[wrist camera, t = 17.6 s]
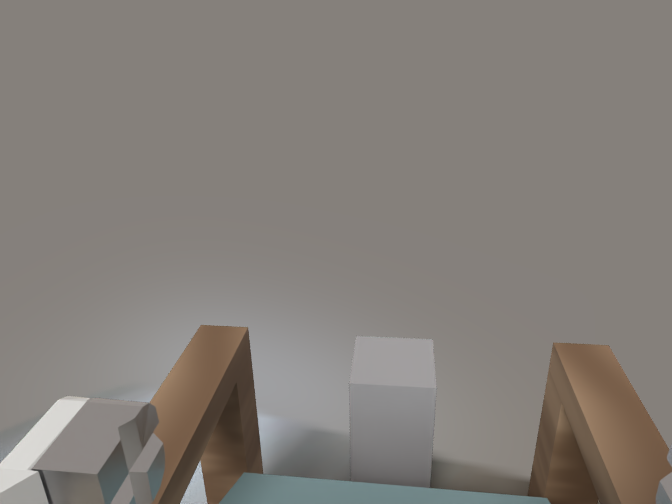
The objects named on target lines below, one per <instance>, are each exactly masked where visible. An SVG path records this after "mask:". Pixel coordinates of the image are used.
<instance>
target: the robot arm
mask: <svg viewBox="0 0 672 504" xmlns="http://www.w3.org/2000/svg"><path fill="white" fill-rule="evenodd" d="M158 423H159V419H158V415H157V411H156V407H155V406H154V405H152V404H150V403H146V402H135V401H124V400H113V399H102V398H85V397H74V396H66V397H63V398H61V399H58V400H57V401H56V402H55V404H54V405H53V406H52V407H51V408H50V409H49V410H48V411H47V412H46V413H45V414H44V416H43V417H42V418H41V419H40V420H39V421H38V422H37V423H36V424H35V426H34V427H33V428H32V429H31V430H30V431H29V432H28V433H27V434H26V435H25V437H24V438H23V439H22V440H21V441H20V442H19V443H18V444H17V445H16V447H15V448H14V449H13V450H12V451H11V452H10V453H9V454H8V455H7V456H6V458H5V459H4V460H3V461H2V462H1V463H0V504H151V503H152V502H153V501H154V499H155V497H156V495H157V493H158V491H159V488H160V486H161V482H162V478H163V474H164V470H165V450H164V445H163V442H162V441H161V440H160V439H159V438H158V437H157V436H156V435H155V434H154V433H153V432H154V430H155V428H156V427H157V425H158ZM667 460H668V462H669V463H670V465H671V467H672V444H671V446H670V449H669V452H668V455H667ZM656 504H672V472H671V473H670V474H668V475H667V476H665V477H664V478H663V479H661V480H660V482H659V486H658V490H657V494H656Z"/></svg>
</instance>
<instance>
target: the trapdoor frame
mask: <svg viewBox="0 0 672 504" xmlns="http://www.w3.org/2000/svg"><path fill="white" fill-rule="evenodd" d="M150 404H152V405H154V406H155V407H156V411H157V415H158V419H159V423H158V425H157V427H156V428H155V430H154V432H153V433H154V434H155V435H156V436H157V437H158V438H159V439H160V440H161V441H162V442H163V445H164V450H165V470H164V474H163V478H162V482H161V486H160V488H159V491H158V493H157V495H156V497H155V499H154V501H153V502H152V503H151V504H180V502H181V500H182V498H183V496H184V493H185V491H186V489H187V487H188V485H189V483H190V481H191V478H192V476H193V474H194V472H195V470H196V468H197V466H198V463H199V461H201V467H202V473H203V479H204V485H205V491H206V497H207V503H208V504H219V503H220V501H221V500H222V499H223V498H224V496H225V495H226V494H227V493H228V492H229V490H230V489H231V488H232V487H233V485H234V484H235V483H236V482H237V480H238V479H239V478H240V477H241V476H242V474H243V473H244V472H245V473H257V474H263V466H262V456H261V447H260V437H259V428H258V418H257V409H256V399H255V389H254V380H253V370H252V361H251V352H250V342H249V332H248V327H231V326H210V325H201V326H200V327H199V329H198V331H197V332H196V333H195V335H194V337H193V338H192V340H191V341H190V343H189V344H188V346H187V347H186V349H185V350H184V352H183V353H182V355H181V356H180V358H179V359H178V361H177V362H176V364H175V365H174V367H173V368H172V370H171V371H170V373H169V374H168V376H167V377H166V379H165V380H164V382H163V383H162V385H161V386H160V388H159V389H158V391H157V392H156V394H155V395H154V397H153V398H152V400H151V401H150ZM668 452H669V448H668V447H667V445H666V443H665V441H664V440H663V438H662V436H661V435H660V433H659V431H658V429H657V428H656V426H655V424H654V423H653V421H652V419H651V418H650V416H649V414H648V412H647V411H646V409H645V407H644V406H643V404H642V402H641V400H640V399H639V397H638V395H637V393H636V392H635V390H634V388H633V387H632V385H631V383H630V381H629V380H628V378H627V376H626V374H625V373H624V371H623V369H622V368H621V366H620V364H619V363H618V361H617V359H616V357H615V356H614V354H613V352H612V350H611V349H610V347H609V346H608V345H591V344H571V343H553V348H552V354H551V359H550V366H549V372H548V377H547V384H546V389H545V395H544V401H543V407H542V413H541V419H540V425H539V431H538V437H537V443H536V449H535V455H534V461H533V467H532V473H531V479H530V484H529V490H528V496H530V497H542V498H547V499H548V500H549V502H550V503H551V504H597V503H598V499H599V501H600V504H656V494H657V490H658V486H659V482H660V480H661V479H663V478H664V477H665V476H667V475H668V474H670V473H671V472H672V467H671V465H670V463H669V462H668V460H667V455H668Z"/></svg>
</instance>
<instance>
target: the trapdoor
mask: <svg viewBox="0 0 672 504" xmlns="http://www.w3.org/2000/svg"><path fill="white" fill-rule="evenodd" d="M219 504H551V503H550V502H549V500H548V499H547V498H542V497H530V496H518V495H506V494H494V493H482V492H470V491H459V490H447V489H435V488H423V487H411V486H399V485H387V484H376V483H364V482H352V481H340V480H328V479H316V478H304V477H293V476H281V475H269V474H257V473H245V472H244V473H243V474H242V476H241V477H240V478H239V479H238V480H237V482H236V483H235V484H234V485H233V487H232V488H231V489H230V490H229V492H228V493H227V494H226V495H225V496H224V498H223V499H222V500H221V501H220V503H219Z"/></svg>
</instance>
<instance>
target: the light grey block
mask: <svg viewBox="0 0 672 504" xmlns="http://www.w3.org/2000/svg"><path fill="white" fill-rule="evenodd" d="M436 390H437V386H436V374H435V362H434V349H433V339H413V338H391V337H368V336H356V341H355V349H354V354H353V362H352V368H351V374H350V381H349V402H350V403H349V405H350V472H351V481H352V482H364V483H376V484H387V485H399V486H411V487H423V488H430V481H431V466H432V451H433V435H434V420H435V405H436Z"/></svg>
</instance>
